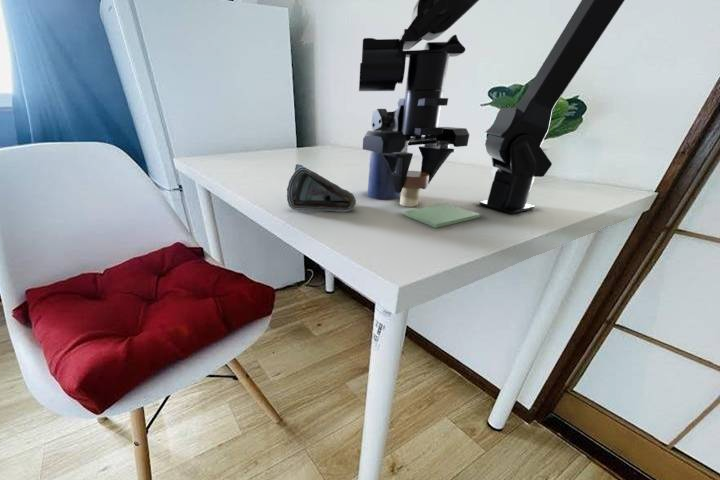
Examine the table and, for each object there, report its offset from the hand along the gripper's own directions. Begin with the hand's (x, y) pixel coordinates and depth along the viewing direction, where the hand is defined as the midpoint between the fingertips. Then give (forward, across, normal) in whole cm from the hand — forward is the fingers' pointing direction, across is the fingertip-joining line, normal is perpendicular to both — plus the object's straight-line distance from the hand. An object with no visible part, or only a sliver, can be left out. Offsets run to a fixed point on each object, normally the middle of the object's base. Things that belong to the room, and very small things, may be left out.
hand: (410, 190), depth 55 cm
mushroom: (+2, 0, 0) cm, 2 cm away
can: (+2, 0, -7) cm, 8 cm away
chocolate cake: (+3, +14, -7) cm, 16 cm away
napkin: (+2, 0, +8) cm, 8 cm away
